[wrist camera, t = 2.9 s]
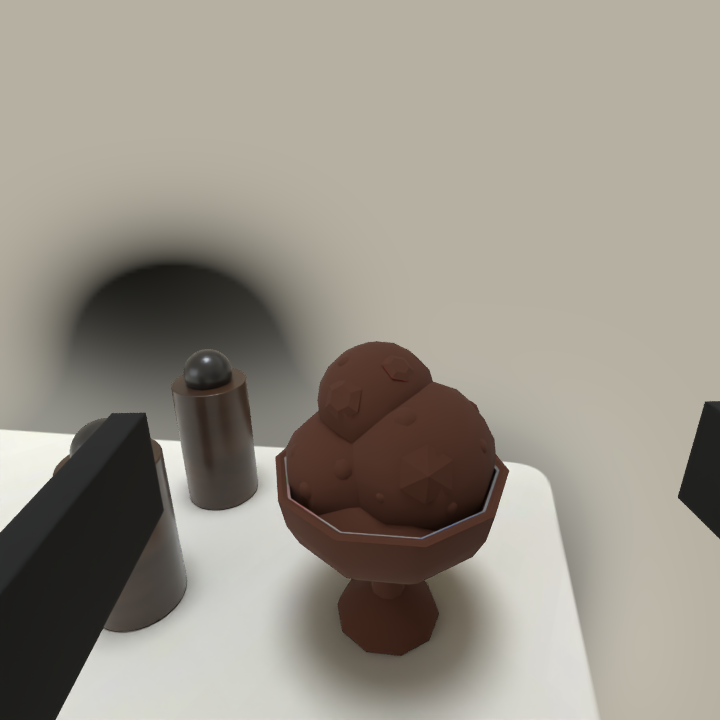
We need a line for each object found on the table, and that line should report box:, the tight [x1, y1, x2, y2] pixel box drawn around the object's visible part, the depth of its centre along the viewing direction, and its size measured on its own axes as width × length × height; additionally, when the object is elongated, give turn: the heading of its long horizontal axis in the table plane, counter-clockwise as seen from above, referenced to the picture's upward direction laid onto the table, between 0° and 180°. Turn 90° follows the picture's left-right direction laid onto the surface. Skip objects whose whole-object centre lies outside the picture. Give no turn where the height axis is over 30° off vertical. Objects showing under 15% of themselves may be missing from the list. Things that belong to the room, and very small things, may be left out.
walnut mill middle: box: [53, 418, 187, 631], centre depth 26 cm, size 5×5×11 cm
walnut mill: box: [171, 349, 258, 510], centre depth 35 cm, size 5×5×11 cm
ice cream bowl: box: [276, 341, 509, 656], centre depth 24 cm, size 11×11×15 cm
